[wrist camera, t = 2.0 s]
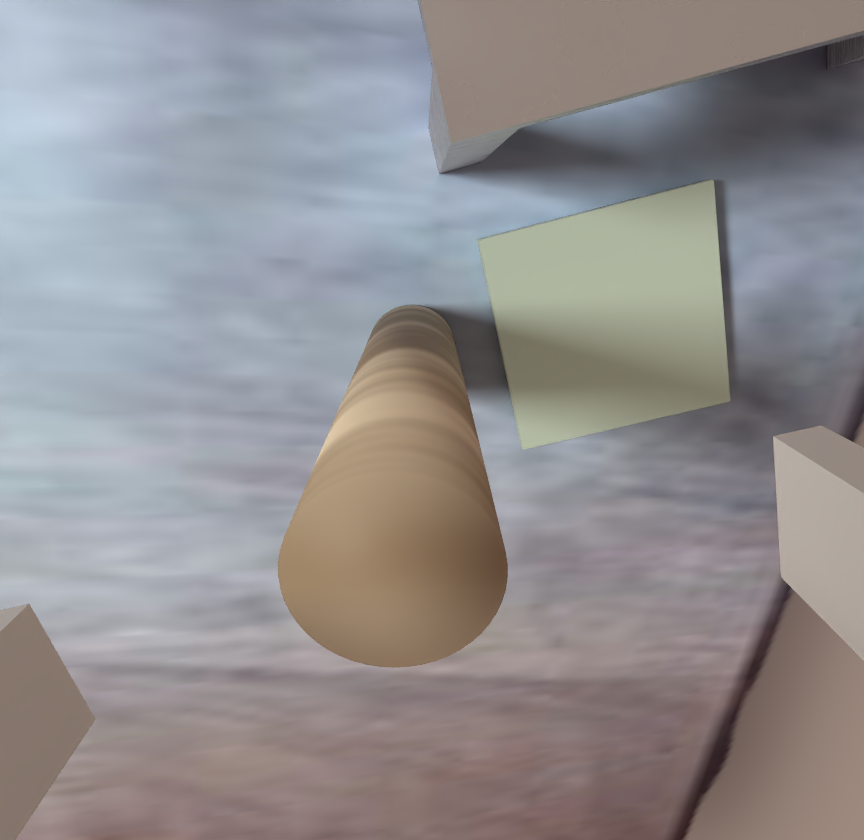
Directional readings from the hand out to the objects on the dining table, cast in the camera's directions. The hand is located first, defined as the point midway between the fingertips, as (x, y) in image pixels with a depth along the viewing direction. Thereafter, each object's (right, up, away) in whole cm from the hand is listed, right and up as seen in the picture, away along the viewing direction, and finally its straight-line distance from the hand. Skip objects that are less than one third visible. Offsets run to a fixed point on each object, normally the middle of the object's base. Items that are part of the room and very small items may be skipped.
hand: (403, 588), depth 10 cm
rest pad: (+9, +8, +17) cm, 20 cm away
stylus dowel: (0, +6, +17) cm, 18 cm away
